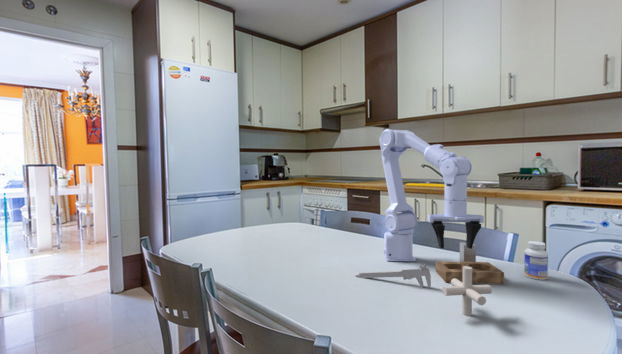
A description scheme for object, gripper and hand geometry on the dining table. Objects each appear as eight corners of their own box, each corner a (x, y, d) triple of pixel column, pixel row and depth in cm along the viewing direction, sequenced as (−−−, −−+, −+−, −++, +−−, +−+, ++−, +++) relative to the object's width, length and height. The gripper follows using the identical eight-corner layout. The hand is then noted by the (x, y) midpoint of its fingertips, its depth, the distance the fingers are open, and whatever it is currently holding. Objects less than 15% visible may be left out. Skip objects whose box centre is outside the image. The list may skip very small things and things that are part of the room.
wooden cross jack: (433, 304, 72) (433, 261, 71) (475, 302, 73) (475, 259, 72) (457, 326, 62) (457, 276, 61) (505, 324, 63) (506, 274, 62)
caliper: (430, 288, 82) (430, 264, 82) (430, 289, 81) (430, 265, 81) (356, 276, 91) (356, 254, 91) (355, 277, 90) (354, 255, 90)
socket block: (445, 282, 85) (445, 271, 85) (435, 271, 94) (435, 261, 94) (504, 283, 84) (504, 272, 84) (488, 272, 93) (488, 262, 93)
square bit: (463, 267, 97) (464, 245, 97) (459, 263, 101) (459, 242, 101) (475, 267, 97) (475, 245, 97) (470, 264, 100) (471, 242, 100)
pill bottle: (524, 272, 92) (524, 239, 92) (547, 275, 89) (548, 241, 89) (523, 277, 88) (524, 243, 88) (548, 281, 85) (548, 246, 84)
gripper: (433, 201, 85) (433, 251, 85) (489, 201, 84) (488, 251, 84) (425, 198, 92) (425, 244, 93) (477, 198, 91) (477, 245, 91)
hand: (455, 247), depth 89 cm, fingers open, 7 cm apart
